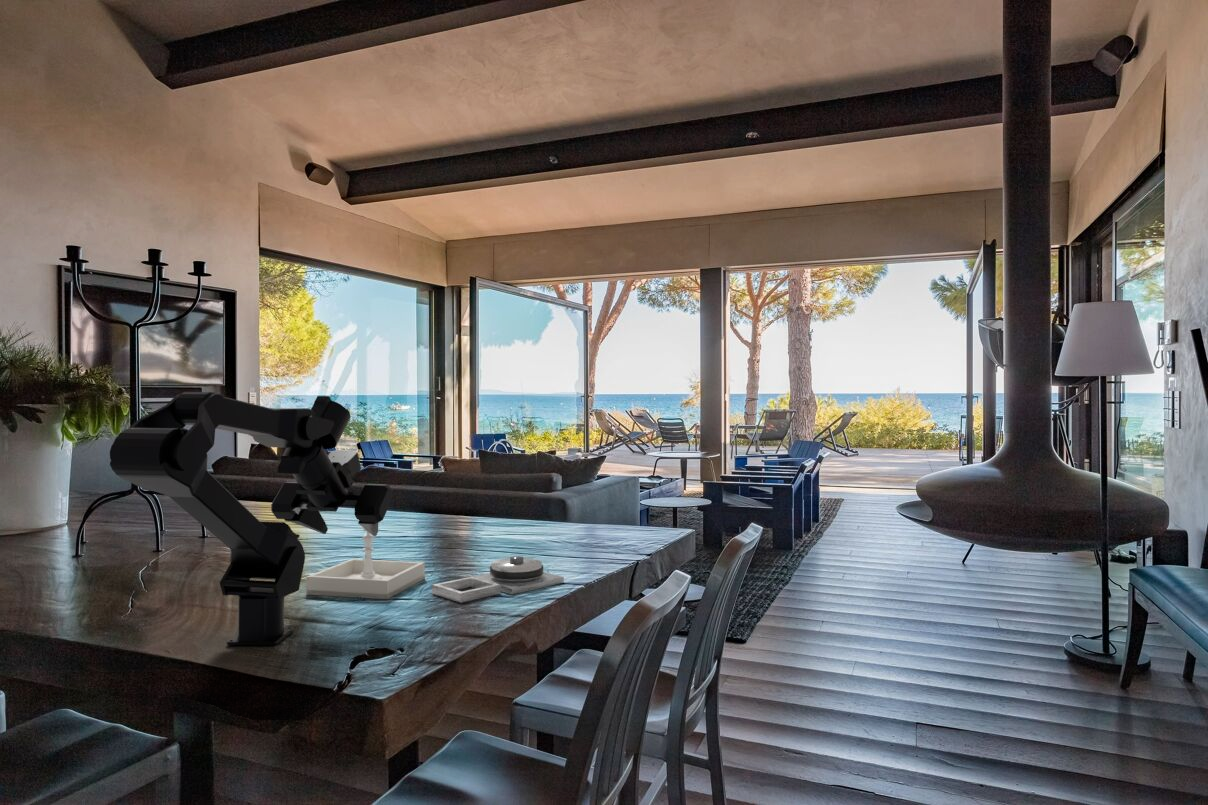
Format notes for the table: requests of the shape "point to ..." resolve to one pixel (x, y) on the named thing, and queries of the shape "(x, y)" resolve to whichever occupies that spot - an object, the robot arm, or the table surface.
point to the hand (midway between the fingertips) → (350, 532)
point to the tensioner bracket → (499, 580)
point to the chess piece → (368, 558)
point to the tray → (346, 585)
